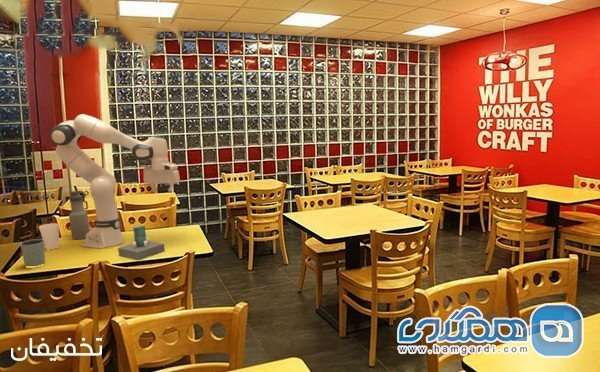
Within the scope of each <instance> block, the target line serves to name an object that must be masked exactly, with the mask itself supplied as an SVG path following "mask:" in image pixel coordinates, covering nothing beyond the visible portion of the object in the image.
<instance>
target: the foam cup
mask: <svg viewBox="0 0 600 372" xmlns="http://www.w3.org/2000/svg"><path fill="white" fill-rule="evenodd" d="M38 229H39V231H40V234H41V239H43V240H44V248H45V250H46V249H54V248H57V249H59V248H58V247H59V246H60V224H59V223H55V222H54V223H47V224H46V223H45V224H41V225H40V226H38ZM54 250H55V249H54Z"/></svg>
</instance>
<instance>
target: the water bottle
mask: <svg viewBox="0 0 600 372" xmlns="http://www.w3.org/2000/svg"><path fill="white" fill-rule="evenodd" d="M69 194H70V196H69V203H70V208H71V212H70V213H69V214H68V219H69V224H70V225H69V227H70V232H71V233H70V234H71V239H72V240H74V239H75V240H76V241H77V240H78V241H79V240H86V234H87V233H88V232H89V231H90V223H89V215H88V212H87V211H86V210H88V209H89V204H88V201H86V200H85V199H86V198H87V197H86V196H87V195H86V192H84V191H83V190H82V191H81V190H73V191H70V192H69ZM84 203H85V206H86V207H85V208H84ZM75 240H74V241H75Z"/></svg>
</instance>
